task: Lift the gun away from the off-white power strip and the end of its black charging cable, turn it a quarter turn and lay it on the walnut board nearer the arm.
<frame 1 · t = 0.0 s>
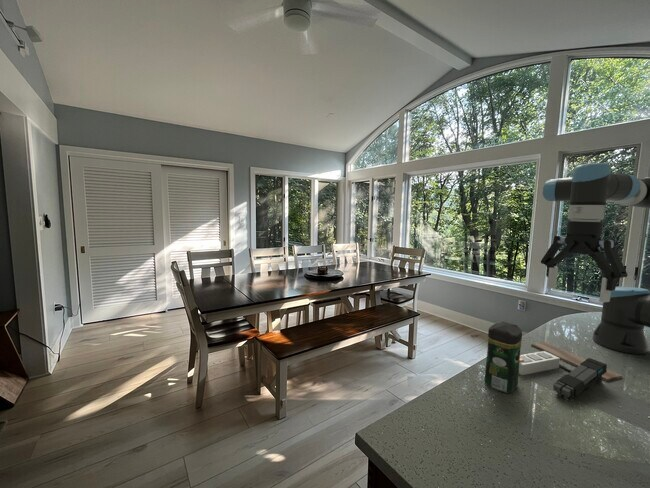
hand: (575, 294, 83), 28 cm above the countertop, tool pointing down, fingers open, 13 cm apart
gun: (579, 390, 84), on the countertop
power strip: (533, 367, 96), on the countertop
walnut board: (572, 360, 101), on the countertop
coffee jar: (500, 385, 86), on the countertop
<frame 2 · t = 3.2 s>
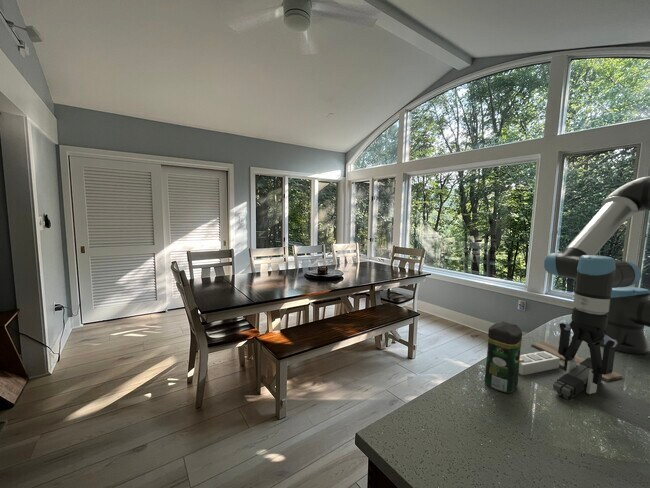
hand: (580, 386, 84), 1 cm above the countertop, tool pointing down, fingers closed on gun, 5 cm apart
gun: (579, 389, 84), on the countertop, touching gripper
everything else where it was.
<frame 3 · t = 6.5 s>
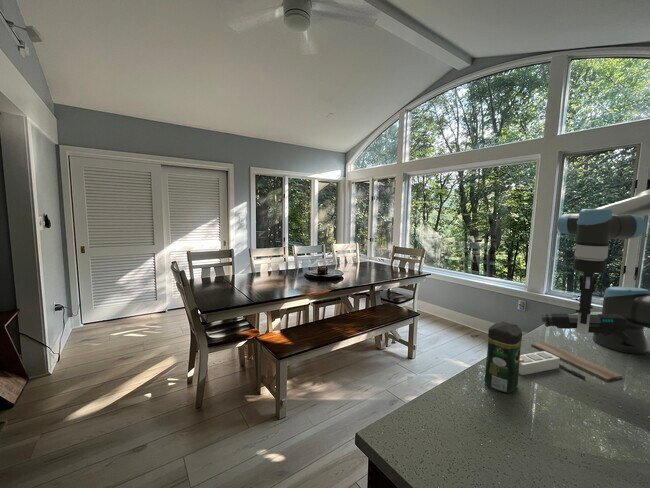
hand: (582, 329, 92), 14 cm above the countertop, tool pointing down, fingers closed on gun, 5 cm apart
gun: (581, 332, 93), point 13 cm above the countertop, touching gripper
everything else where it was.
when the fingers open (3 cm above the countertop, at t = 9.9 s): gun drops 1 cm, resting on walnut board.
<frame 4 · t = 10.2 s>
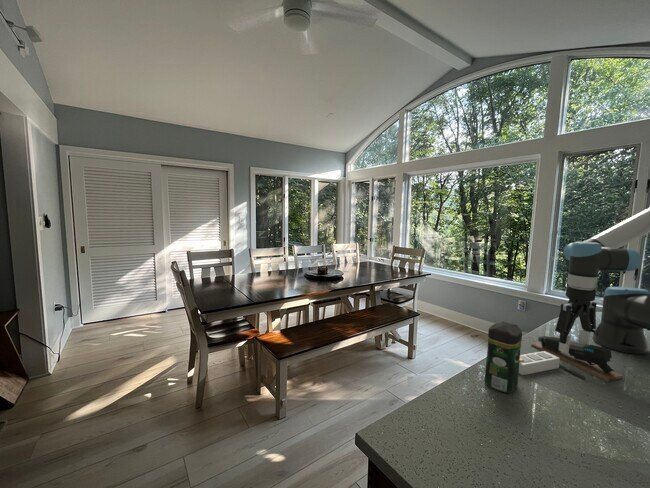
hand: (573, 350, 100), 4 cm above the countertop, tool pointing down, fingers open, 9 cm apart
gun: (572, 358, 101), point 1 cm above the countertop, touching walnut board
everything else where it was.
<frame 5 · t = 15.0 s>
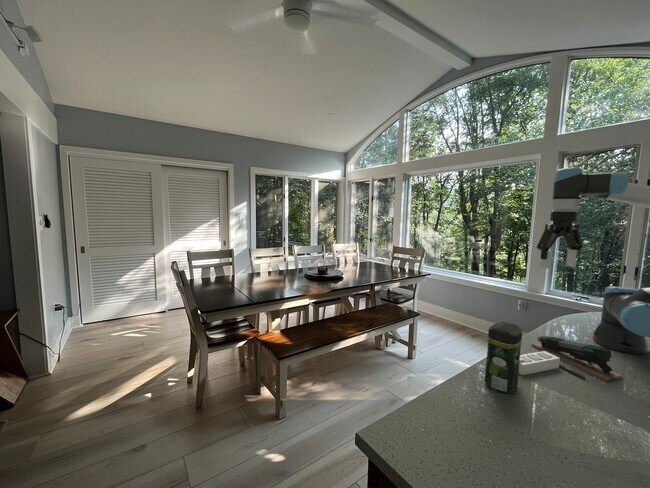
hand: (557, 267, 110), 31 cm above the countertop, tool pointing down, fingers open, 13 cm apart
nothing on the countertop moved.
at the end: gun inside the target area on the walnut board (0.1 cm from its centre), point 0.6 cm above the walnut board's base; gun tilted 0°; gun touching walnut board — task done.
